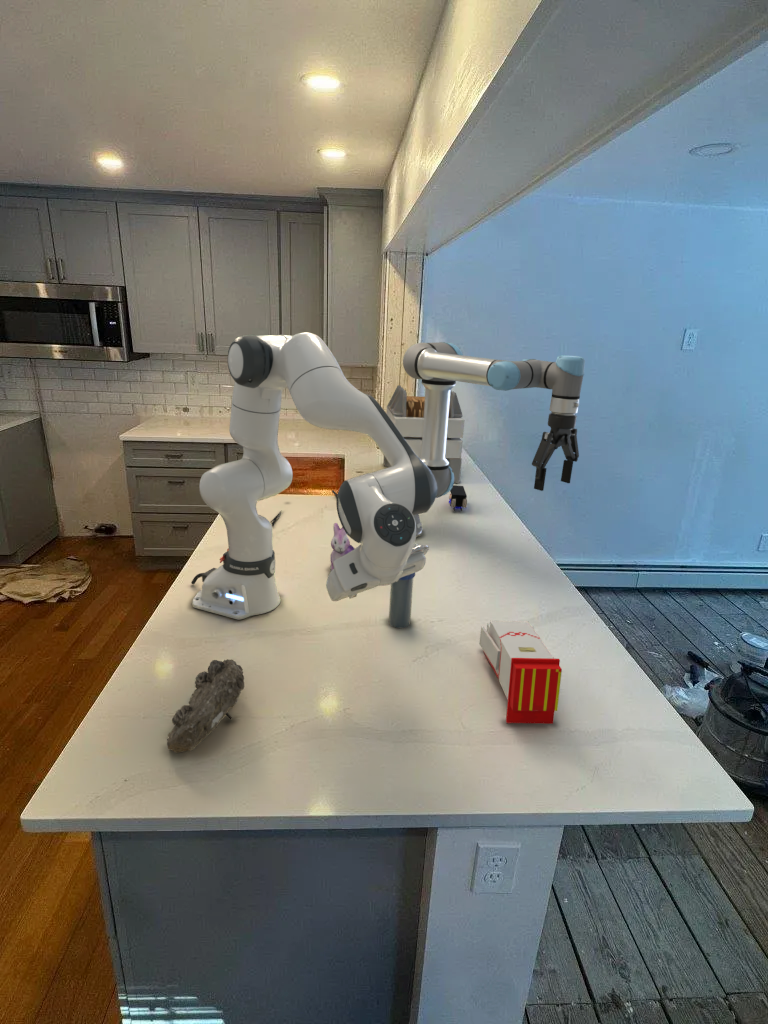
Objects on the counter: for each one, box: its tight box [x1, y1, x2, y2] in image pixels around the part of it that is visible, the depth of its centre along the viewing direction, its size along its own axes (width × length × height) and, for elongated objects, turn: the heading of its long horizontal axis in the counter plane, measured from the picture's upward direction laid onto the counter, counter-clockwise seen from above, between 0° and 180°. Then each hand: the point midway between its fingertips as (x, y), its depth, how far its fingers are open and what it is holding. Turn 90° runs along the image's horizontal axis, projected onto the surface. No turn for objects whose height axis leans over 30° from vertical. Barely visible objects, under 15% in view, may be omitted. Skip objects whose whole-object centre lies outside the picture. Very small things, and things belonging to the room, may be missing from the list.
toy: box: [478, 620, 563, 725], centre depth 121 cm, size 12×13×30 cm
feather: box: [269, 510, 282, 527], centre depth 212 cm, size 2×28×2 cm
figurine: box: [329, 522, 355, 572], centre depth 168 cm, size 9×10×15 cm
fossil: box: [166, 658, 245, 754], centre depth 106 cm, size 22×10×15 cm
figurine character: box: [448, 484, 468, 512], centre depth 228 cm, size 7×8×15 cm
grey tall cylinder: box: [388, 578, 414, 629], centre depth 141 cm, size 6×6×16 cm
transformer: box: [383, 384, 465, 484], centre depth 268 cm, size 34×33×41 cm
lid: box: [399, 572, 416, 580], centre depth 139 cm, size 6×6×2 cm
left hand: (372, 586), depth 118 cm, fingers open, 8 cm apart
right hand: (552, 485), depth 166 cm, fingers open, 13 cm apart
